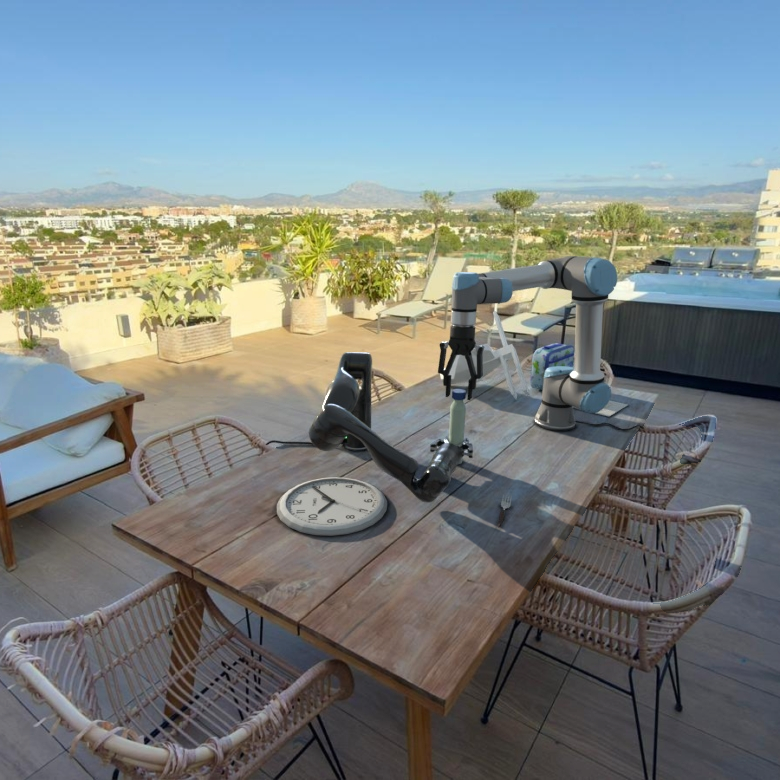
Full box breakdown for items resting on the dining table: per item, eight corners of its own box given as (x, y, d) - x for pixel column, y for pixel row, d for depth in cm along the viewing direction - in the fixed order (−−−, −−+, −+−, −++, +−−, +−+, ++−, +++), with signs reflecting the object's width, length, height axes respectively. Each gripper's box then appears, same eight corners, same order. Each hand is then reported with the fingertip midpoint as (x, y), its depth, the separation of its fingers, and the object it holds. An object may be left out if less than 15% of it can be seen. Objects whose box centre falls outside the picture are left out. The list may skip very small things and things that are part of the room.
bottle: (458, 465, 168) (462, 396, 161) (444, 462, 170) (448, 393, 163) (464, 460, 172) (469, 392, 165) (451, 456, 174) (455, 390, 167)
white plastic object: (461, 429, 252) (437, 405, 227) (444, 352, 274) (420, 323, 250) (535, 404, 240) (518, 377, 215) (510, 326, 262) (492, 293, 237)
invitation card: (608, 416, 214) (573, 407, 224) (608, 416, 214) (573, 408, 224) (628, 404, 229) (594, 396, 238) (628, 405, 229) (594, 397, 238)
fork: (493, 528, 133) (493, 521, 132) (502, 499, 147) (503, 492, 147) (503, 530, 132) (504, 523, 131) (511, 500, 146) (512, 494, 146)
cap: (455, 400, 162) (455, 393, 161) (449, 396, 166) (450, 389, 165) (467, 399, 163) (468, 392, 163) (462, 395, 167) (462, 388, 166)
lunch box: (546, 395, 240) (551, 350, 234) (526, 389, 248) (530, 346, 241) (573, 384, 258) (578, 342, 252) (553, 379, 265) (558, 339, 259)
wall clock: (392, 527, 129) (268, 531, 127) (391, 533, 130) (269, 537, 127) (383, 473, 158) (282, 475, 155) (383, 478, 158) (282, 480, 156)
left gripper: (422, 467, 160) (436, 446, 175) (468, 475, 155) (478, 453, 170) (423, 444, 157) (437, 425, 173) (470, 452, 153) (480, 431, 168)
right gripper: (497, 325, 157) (491, 398, 164) (436, 320, 165) (433, 390, 171) (492, 329, 151) (486, 405, 158) (428, 323, 158) (425, 396, 165)
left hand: (457, 439), depth 171 cm, fingers closed on bottle, 5 cm apart
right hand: (458, 397), depth 164 cm, fingers open, 6 cm apart
